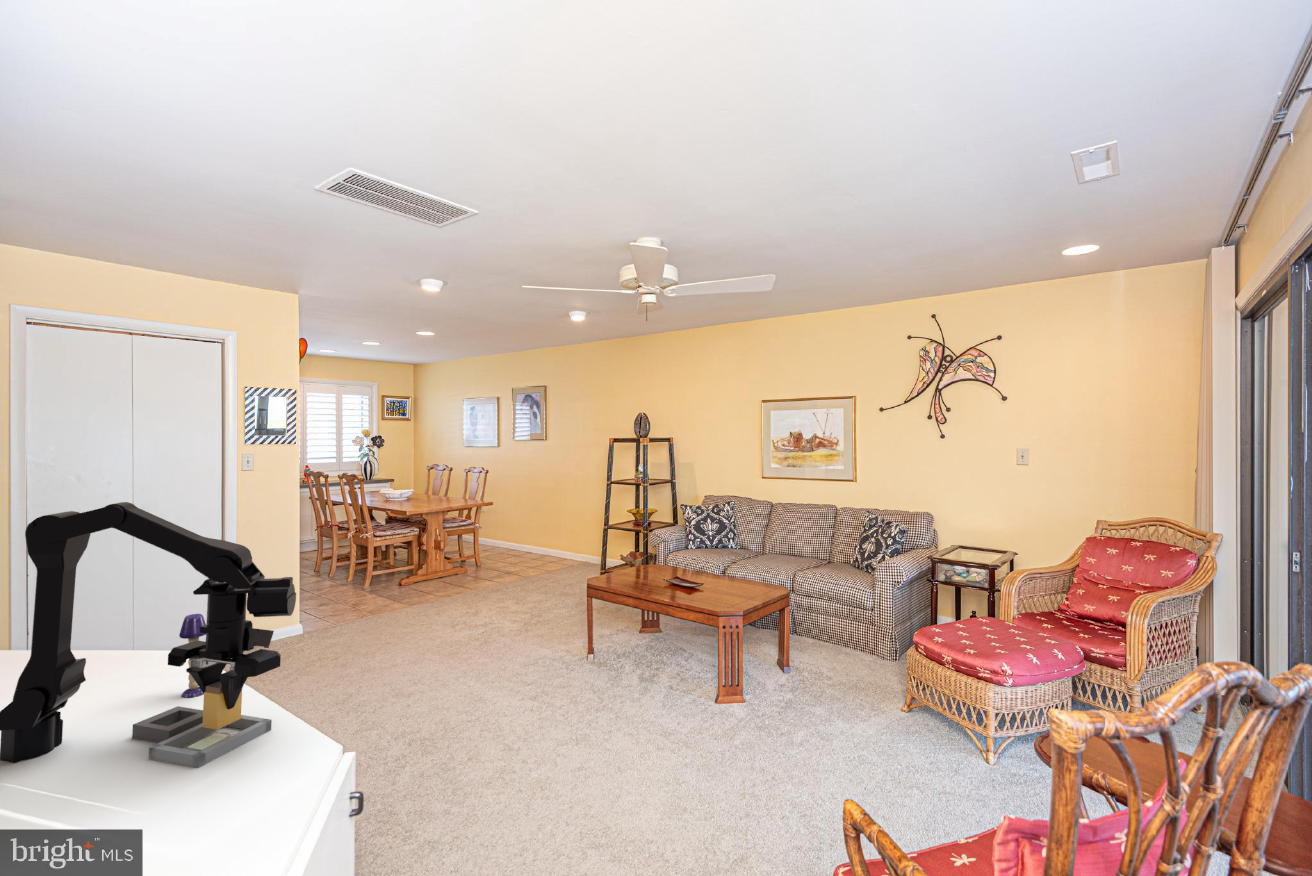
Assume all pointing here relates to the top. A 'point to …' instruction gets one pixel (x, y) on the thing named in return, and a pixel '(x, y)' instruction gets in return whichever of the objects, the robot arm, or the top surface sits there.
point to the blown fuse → (219, 708)
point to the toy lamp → (191, 633)
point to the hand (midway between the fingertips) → (222, 707)
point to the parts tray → (175, 754)
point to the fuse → (207, 742)
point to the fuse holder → (167, 724)
